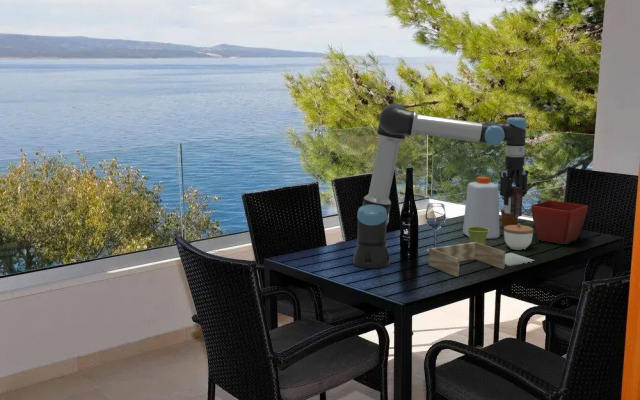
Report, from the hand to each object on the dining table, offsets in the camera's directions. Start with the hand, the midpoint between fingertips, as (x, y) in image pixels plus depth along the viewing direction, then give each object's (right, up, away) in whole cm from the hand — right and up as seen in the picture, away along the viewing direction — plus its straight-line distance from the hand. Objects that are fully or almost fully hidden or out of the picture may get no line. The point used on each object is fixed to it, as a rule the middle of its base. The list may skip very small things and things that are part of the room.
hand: (512, 212), depth 303 cm
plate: (0, -20, +4) cm, 20 cm away
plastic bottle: (-3, -12, +47) cm, 48 cm away
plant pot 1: (-9, -17, +23) cm, 30 cm away
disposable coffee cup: (+14, -10, +60) cm, 62 cm away
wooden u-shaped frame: (-20, -22, -7) cm, 31 cm away
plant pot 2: (+30, -14, +36) cm, 49 cm away
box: (0, -2, 0) cm, 2 cm away
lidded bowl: (+8, -16, +24) cm, 30 cm away
